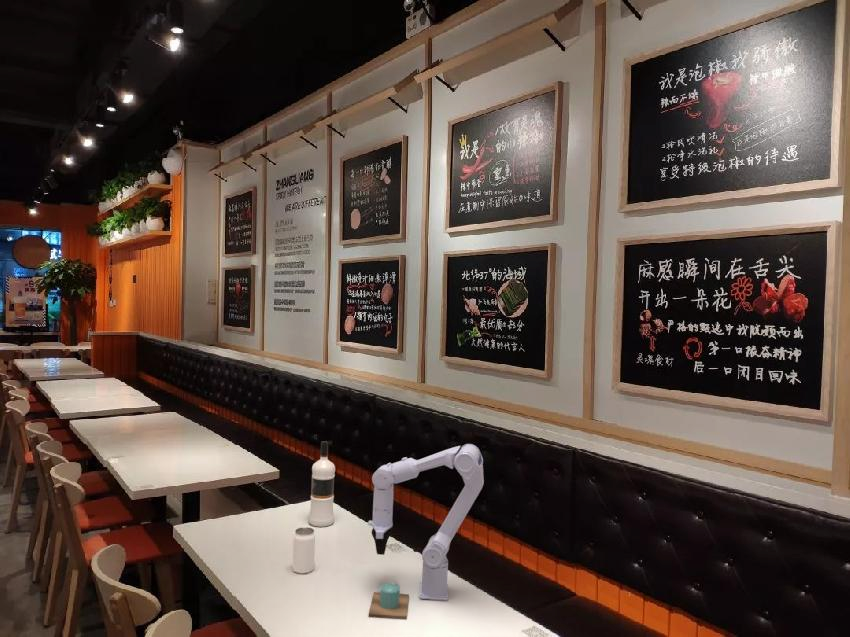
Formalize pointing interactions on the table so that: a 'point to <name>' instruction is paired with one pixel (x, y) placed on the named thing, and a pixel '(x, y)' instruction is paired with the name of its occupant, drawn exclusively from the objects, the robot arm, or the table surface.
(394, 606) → the cap
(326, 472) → the vodka
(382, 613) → the stud board
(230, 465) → the table surface
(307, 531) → the can
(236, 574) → the table surface
